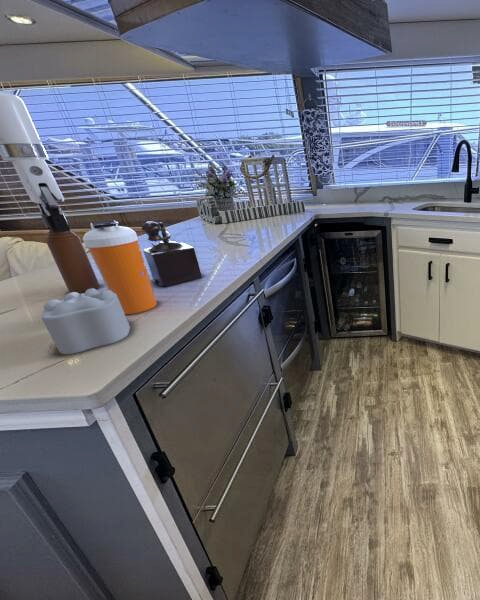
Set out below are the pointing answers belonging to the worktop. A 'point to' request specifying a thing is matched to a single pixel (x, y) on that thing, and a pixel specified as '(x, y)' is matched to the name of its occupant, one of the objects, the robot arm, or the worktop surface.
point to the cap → (46, 220)
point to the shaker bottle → (121, 265)
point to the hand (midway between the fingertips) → (59, 230)
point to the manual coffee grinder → (169, 257)
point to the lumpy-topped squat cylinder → (85, 320)
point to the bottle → (72, 261)
